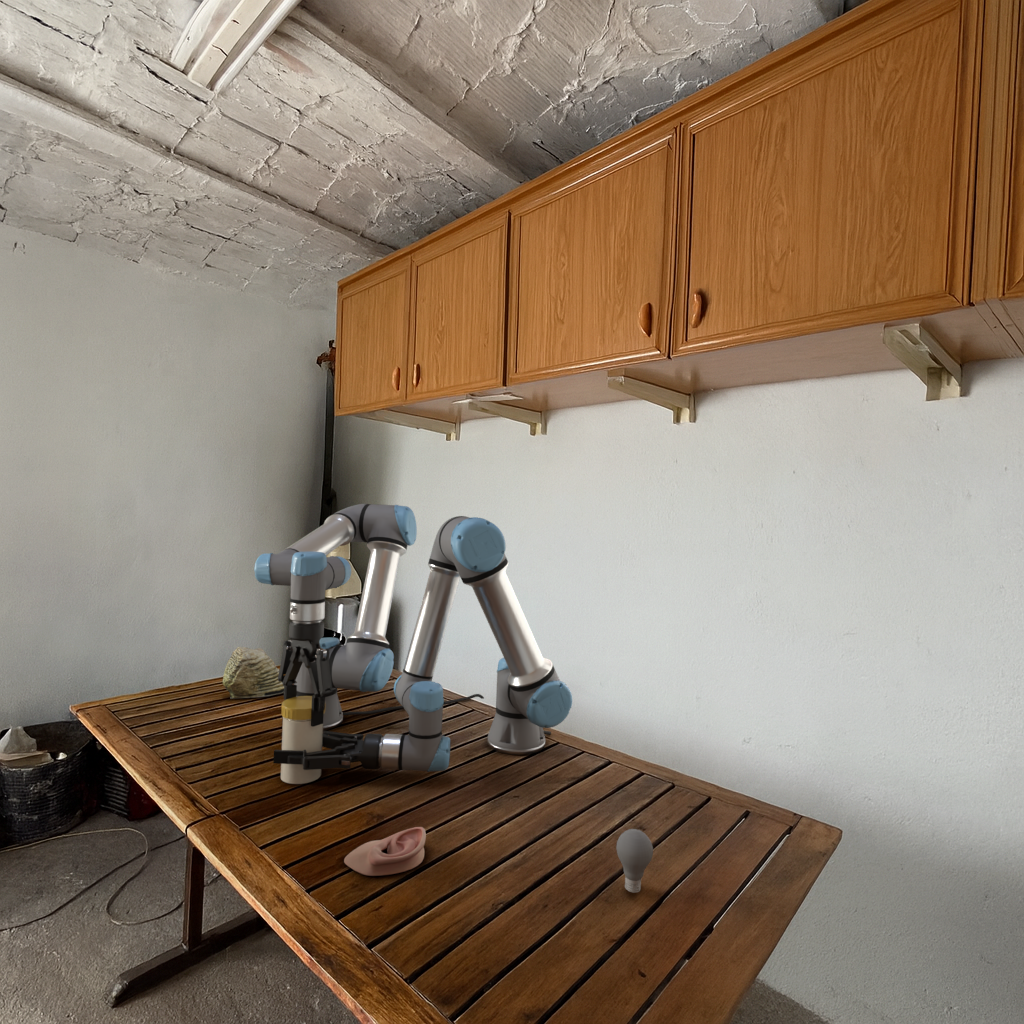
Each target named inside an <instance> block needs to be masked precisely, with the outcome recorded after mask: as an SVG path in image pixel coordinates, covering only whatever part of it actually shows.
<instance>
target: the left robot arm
mask: <svg viewBox="0 0 1024 1024" xmlns="http://www.w3.org/2000/svg"><path fill="white" fill-rule="evenodd" d="M417 532H418V530H417V520H416V516H415V513H414V511H413V510H412V508H411V507H409V506H406V505H399V504H375V503H359V504H354V505H351V506H348V507H345V508H343V509H341V510H338V511H336V512H334V513H333V514H331V515H329V516H328V517H327V518H326V519H325V520H324V522H323V524H322V525H320V526H319V527H317V528H316V529H314V530H312V531H311V532H309V533H308V534H306V535H304V536H303V537H301V538H300V539H298V540H296V541H295V542H294V543H292V544H291V545H289V546H288V547H286V548H284V549H283V550H281V551H279V552H278V553H273V552H270V553H261V554H260V555H258V557H257V559H256V561H255V563H254V567H253V571H254V577H255V579H256V581H257V582H258V583H260V584H263V585H264V584H265V585H270V586H285V587H290V599H289V602H290V604H289V619H290V620H291V621H290V622H289V623H288V638H289V639H288V640H283V642H282V648H283V649H282V656H281V659H280V660H281V661H280V666H279V675H278V681H279V682H282V684H283V686H284V692H283V701H285V700H287V699H289V698H293V697H298V696H312V710H311V726H312V727H314V726H317V725H320V724H323V732H324V731H330V730H332V729H335V728H337V727H339V726H340V725H342V723H343V722H344V716H360V715H362V716H363V715H364V716H365V715H372V714H373V715H374V714H378V713H383V712H387V711H388V712H389V711H394V710H402V709H404V707H403V706H402V705H393V706H389V707H383V708H379V709H374V710H366V711H365V710H363V711H343V709H342V706H341V702H340V699H339V695H338V689H339V690H340V689H341V690H349V691H350V690H351V691H359V692H363V693H366V692H372V693H377V692H379V691H381V690H382V689H384V687H385V686H386V685H387V684H388V682H389V680H390V677H391V675H392V673H393V670H394V663H395V661H394V659H395V655H394V652H393V651H392V650H391V648H390V642H389V641H388V640H387V637H386V634H387V629H388V624H389V619H390V613H391V608H392V603H393V602H392V601H393V597H394V592H395V586H396V581H397V575H398V571H399V565H400V560H401V557H402V556H403V555H405V554H406V553H407V551H408V550H407V549H408V547H410V546H413V545H414V544H415V542H416V540H417V535H418V533H417ZM350 543H366V547H367V548H368V550H369V551H370V554H369V559H368V564H367V569H366V573H365V580H364V584H363V588H362V594H361V598H360V602H359V608H358V612H357V618H356V621H355V622H356V623H355V628H354V632H353V633H352V634H350V635H349V636H348V637H347V638H346V643H345V644H340V643H341V641H340V639H339V638H338V637H334V636H333V637H332V636H331V637H324V636H325V635H324V634H325V622H324V619H325V618H326V617H325V616H326V615H325V614H326V591H328V590H332V589H337V588H340V587H341V586H344V585H345V584H346V583H348V581H349V580H350V578H351V576H352V567H351V564H350V562H349V561H348V560H347V559H346V558H344V557H342V556H340V555H339V556H337V555H336V556H334V555H331V556H328V555H329V554H331V553H332V552H333V551H335V550H336V549H337V548H339V547H343V546H344V547H345V546H346V545H349V544H350ZM474 698H480V699H482V700H484V699H485V697H484V696H483V695H482V694H481V693H475V694H471V695H469V696H465V697H459V698H456V699H452V700H444V703H443V706H444V705H450V704H454V703H459V702H462V701H469V700H471V699H474ZM325 704H326V707H325ZM324 709H325V713H324ZM404 710H405V709H404Z"/></svg>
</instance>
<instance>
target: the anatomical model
mask: <svg viewBox="0 0 1024 1024" xmlns="http://www.w3.org/2000/svg"><path fill="white" fill-rule="evenodd" d="M426 839H427V834H426V829H425V827H423V826H415V827H411V828H407V829H404V830H401V831H398V832H396V833H394V834H392V835H389V836H387V837H385V838H383V839H376V840H370V841H368V842H365V843H363V844H361V845H359V846H357V847H356V848H355V849H353V850H352V851H350V852H349V853H348V854H347V855H346V856H345V857H344V859H343V863H344V865H346V866H347V867H348V868H350V869H352V870H353V871H355V872H356V873H359V874H361V875H364V876H369V877H377V876H389V875H394V874H395V875H396V874H399V873H403V872H407V871H409V870H412V869H414V868H416V867H418V866H419V865H421V863H422V862H423V860H424V859H425V848H424V846H425V844H426Z"/></svg>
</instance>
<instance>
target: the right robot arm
mask: <svg viewBox="0 0 1024 1024" xmlns="http://www.w3.org/2000/svg"><path fill="white" fill-rule="evenodd" d="M506 547H507V545H506V539H505V536H504V534H503V532H502V530H501V529H500V528H499V527H498V526H497V525H496V524H495V523H493V522H491V521H490V520H488V519H485V518H483V517H478V516H477V517H475V516H473V517H469V516H465V515H458V516H454V517H451V518H448V519H447V520H446V521H444V522H443V523H442V525H440V527H439V529H438V531H437V532H436V535H435V538H434V541H433V545H432V549H431V552H430V555H429V558H428V562H427V566H428V568H429V570H430V571H429V574H428V578H427V582H426V585H425V589H424V592H423V596H422V600H421V604H420V607H419V611H418V615H417V618H416V623H415V626H414V629H413V633H412V637H411V639H410V640H411V641H410V644H409V647H408V651H407V655H406V658H405V662H404V666H403V668H402V672H401V674H400V675H399V676H398V677H397V679H395V681H394V684H393V693H394V696H395V698H396V701H397V702H398V704H399V705H400V706H403V707H404V710H405V712H406V713H407V715H408V734H397V733H385V734H384V735H383V734H382V733H366V734H365V735H364V734H363V733H356V734H355V733H354V734H353V733H347V732H338V731H330V730H325V731H323V742H322V748H325V750H322V751H317V752H309V753H307V751H306V750H303V751H294V750H282V749H274V750H273V760H272V762H273V763H272V764H276V765H281V764H303V769H304V770H313V769H321V770H328V769H329V770H331V769H344V770H345V769H346V770H349V769H351V764H352V763H358V762H360V764H361V767H362V769H364V770H378V769H380V768H381V769H382V770H389V771H391V772H396V771H416V772H417V771H418V772H427V773H430V772H431V773H432V772H445V771H446V770H447V769H448V768H449V766H450V758H451V738H450V737H449V736H445V735H443V715H444V714H443V713H444V705H443V703H444V702H445V698H444V687H443V686H442V684H440V683H439V682H436V681H434V680H433V677H434V672H435V669H436V667H437V663H438V659H439V655H440V651H441V648H442V644H443V641H444V637H445V634H446V630H447V628H448V627H447V626H448V623H449V619H450V615H451V612H452V608H453V604H454V601H455V597H456V594H457V591H458V586H459V584H460V579H461V582H462V583H463V585H466V586H468V587H471V588H472V590H473V592H474V595H475V596H476V599H477V601H478V603H479V606H480V607H481V611H482V612H483V614H484V616H485V618H486V621H487V623H488V625H489V628H490V630H491V632H492V634H493V637H494V639H495V641H496V643H497V646H498V647H499V650H500V652H501V654H502V656H503V657H502V658H499V660H498V664H497V669H496V694H495V695H496V696H495V715H494V717H493V719H492V723H491V725H490V728H489V731H488V734H487V746H488V747H489V748H491V749H492V750H493V751H496V752H498V753H502V754H505V755H506V754H507V755H514V756H516V755H517V756H526V755H533V754H536V753H539V752H541V751H542V750H544V749H545V747H546V735H548V736H551V735H552V731H550V730H544V729H550V728H554V727H557V726H558V725H561V724H562V722H564V721H565V719H566V718H567V717H568V715H569V714H570V711H571V709H572V707H573V694H572V691H571V689H570V688H569V686H567V684H566V682H563V681H561V679H560V678H559V675H558V673H557V670H556V668H555V667H554V664H553V662H552V660H551V659H550V658H546V657H544V656H543V655H542V651H541V650H540V647H539V645H538V643H537V641H536V639H535V636H534V633H533V632H532V629H531V627H530V625H529V622H528V620H527V618H526V615H525V613H524V611H523V609H522V606H521V604H520V602H519V599H518V597H517V595H516V592H515V591H514V588H513V586H512V583H511V581H510V579H509V577H508V574H507V573H506V571H507V569H508V565H509V561H508V558H507V556H506V554H505V552H506Z"/></svg>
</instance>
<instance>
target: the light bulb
mask: <svg viewBox="0 0 1024 1024" xmlns="http://www.w3.org/2000/svg"><path fill="white" fill-rule="evenodd" d="M615 849H616V854H617V857H618V859H619V861H620V863H621V865H622V867H623V873H624V874H623V875H624V876H625V878H624V888H625V890H627V891H628V892H630V893H634V894H635V893H639V892H640V891H641V889H642V887H641V886H642V879H643V877H644V875H645V871H646V868H647V867H648V866H649V864H650V863H651V861H652V859H653V855H654V847H653V843H652V841H651V838H649V836H648V835H647V834H646V833H645V832H643V831H642V830H641V829H636V828H629V829H627V830H625V831H623V832H622V833H621V834H620V835H619V837H618V839H617V841H616V847H615Z"/></svg>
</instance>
